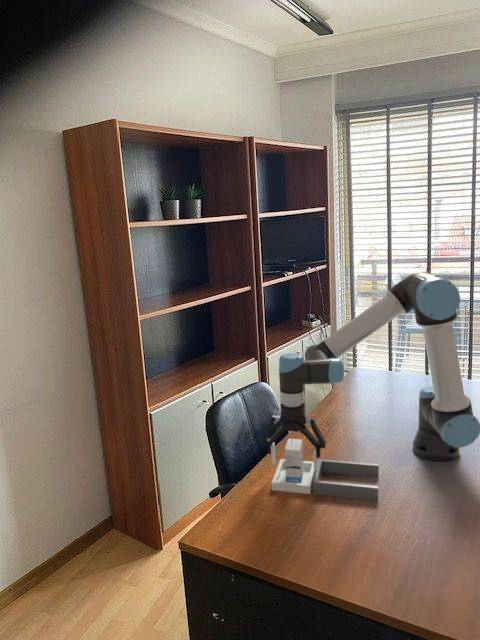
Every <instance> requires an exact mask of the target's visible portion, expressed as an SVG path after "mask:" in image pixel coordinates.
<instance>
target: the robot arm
mask: <svg viewBox="0 0 480 640" xmlns="http://www.w3.org/2000/svg"><path fill="white" fill-rule="evenodd" d="M460 303H461V294H460V291H459V289H458V288H457V286H456V285H455V284H454V283H453V282H452V281H450V280H449V279H448V278H446V277H443V276H439V275H435V274H433V273H431V272H427V271H418V272H414V273H411V274H410V275H408V276H406V277H405V278H403V279H402V280H400V281H398V283H395V284H394V285H393V286H392V287H391V288H389V289H388V290H386V294H385V296H384V297H381V298H380V299H379V300H377V301H376V302H375V303H374V304H372V305H371V306H370V307H368V308H367V309H365V310H364V311H363V312H361V313H360V314H359V315H357V316H356V317H353V319H352V320H350V321H349V322H347V323H346V324H345V325H343V326H342V327H340V328H339V329H338V330H337V331H335V332H333V333H332V334H330V335H329V336H328V337H326V338H324V340H322V341H321V342H319V343H318V344H317V343H314V344H311V345H309V346H308V347H307V348H306V349H305V351H304V355H303V354H301V353H299V352H287V353H284V354H281V356H280V357H279V360H278V361H279V362H278V377H279V380H278V381H279V400H280V401H279V402H280V407H279V408H280V416H277V415H276V414H275V413H274V414H272V416H271V417H270V424H269V426H268V427H267V430H266V432H265V434H264V436H263V437H262V440H261V443H262V444H265V445H267V453H268V455H270V458H271V459H270V462H271V465H272V466H274V465H275V463H276V444H275V441H276V440H277V439H278V438H279V437H280V436H281V434H283V433H284V432H285V431H287V432H294V433H295V432H296V433H298V432H300V433H301V434H302V435H303V436H304V437H305V438H306V439H307V440H308V441H309V442H310V443H311V445H313V462H314V469H316V468H317V463H318V459H321V452H322V451H321V449H325V448H326V447H327V441H326V439H325V438H324V436H323V434H322V432H321V430H320V428H319V427H318V425H317V421H316V417H315V416H311V417H309V418H308V417H306V411H305V410H306V409H305V407H306V406H305V400H306V399H305V385H320V384H321V385H324V384H327V385H328V384H331V385H332V384H338V383H342V382H343V380H344V378H345V377H344V376H345V372H344V371H345V370H344V363H343V361H342V359H341V356H343V355H345V354H346V353H347V352H349V351H350V350H351V349H353V348H355V347H356V346H357V345H359V344H360V343H361V342H363V341H365V339H367V338H368V337H370V336H371V335H373V334H375V333H376V332H377V331H379V330H380V329H382V328H383V327H384V326H386V325H387V324H389V323H390V322H392V321H393V320H394V319H396V318H397V317H398V316H400V315H407V314H409V313H410V312H411V311H413V312H414V317H415V323H416V325H418V327H421V328H422V332H423V336H424V343H425V348H426V350H425V351H426V354H427V359H428V366H429V372H430V377H431V381H432V386H426V387H423V388H421V389H420V391H419V395H418V428H417V431H416V432H415V433H416V434H415V436H414V439H413V441H412V450H413V453H414V454H416V455H417V456H418V457H420V458H423V459H424V460H429V461H434V462H449V461H453V460H455V459H457V458H458V457H459V456H460V448H464V447H469V446H470V445H473V443H474V442H475V441H476V440H477V439H478V438H479V436H480V421H479V420H478V418H477V417H476V416H474V412H473V406H472V400H471V398H470V397H468V396H467V395H465V389H464V385H463V379H462V372H461V365H460V360H459V356H458V355H459V353H458V348H457V342H456V336H455V330H454V323H455V322H456V321H457V319H458V314H457V313H458V311H457V310H458V308H459V307H460ZM278 422H279V423H280V424H281V426H280V427H279V428H278V429H277V431H276V432H275V433H274V434H273V435H272V436H271V437H270V438H269V436H270V434H271V432H272V430H273V428H274V426H275V424H278ZM306 424H308V426H310V427H311V430H312V432H313V433H314V435H315V436H314V435H313V434H312V432H311V431H310V430H309V429H308V427H307V426H306Z"/></svg>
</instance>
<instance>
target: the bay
mask: <svg viewBox="0 0 480 640" xmlns="http://www.w3.org/2000/svg"><path fill="white" fill-rule="evenodd" d="M379 466H380V465H379V464H378V463H370V462H369V463H368V462H360V461H359V462H358V461H357V462H356V461H345V460H335V459H323V458H317V468H316V471H315V475H314V479H313V485H312V494H313V495H322V496H332V497H341V498H350V499H359V500H367V501H368V500H369V501H379V485H378V486H377V485H372V484H371V485H370V484H358V483H348V482H338V481H327V480H321V478H322V473H328V474H340V475H349V476H360V477H361V476H362V477H369V478H370V477H371V478H372V477H373V478H379Z"/></svg>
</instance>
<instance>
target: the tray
mask: <svg viewBox="0 0 480 640" xmlns="http://www.w3.org/2000/svg"><path fill="white" fill-rule="evenodd" d="M315 471H316V469H314V461H310V460H309V461H308V460H303V477H302V482H301V483H294V482H286V470H285V458H280V460H279V462H278V465H277V467H276V470H275V471H274V472H275V473H274V475H273V477H272V480H271V491H275V492H286V493H295V494H304V495H305V494H306V495H311V493H312V490H313V479H314V475H315Z"/></svg>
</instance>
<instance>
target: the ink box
mask: <svg viewBox="0 0 480 640" xmlns="http://www.w3.org/2000/svg"><path fill="white" fill-rule="evenodd" d="M303 447H304V446H303V439H302V438H301V439H299V438H288V439H287V441H286V445H285V446H284V459H285V470H286V482H294V483H301V482H302V477H303V461H304V454H303V452H304V451H303V449H304V448H303Z"/></svg>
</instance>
